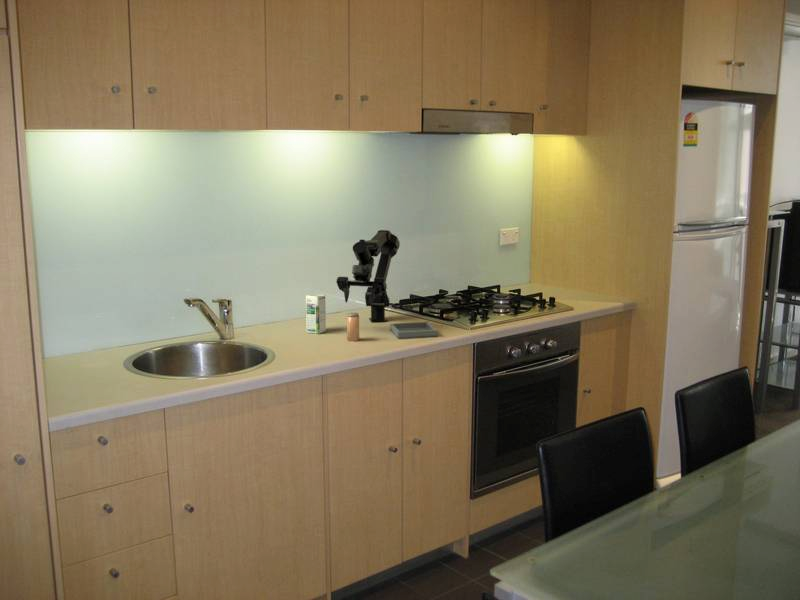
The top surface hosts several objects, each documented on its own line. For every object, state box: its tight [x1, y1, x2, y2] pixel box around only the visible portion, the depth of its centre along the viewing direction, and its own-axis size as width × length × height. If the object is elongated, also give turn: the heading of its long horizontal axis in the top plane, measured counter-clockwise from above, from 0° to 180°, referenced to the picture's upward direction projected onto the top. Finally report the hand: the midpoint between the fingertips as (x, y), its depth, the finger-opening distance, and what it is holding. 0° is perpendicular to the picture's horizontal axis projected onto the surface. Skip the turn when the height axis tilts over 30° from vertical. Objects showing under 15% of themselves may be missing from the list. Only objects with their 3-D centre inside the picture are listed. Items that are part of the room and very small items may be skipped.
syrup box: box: [305, 294, 327, 335], centre depth 306 cm, size 6×6×14 cm
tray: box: [389, 321, 438, 340], centre depth 304 cm, size 15×15×2 cm
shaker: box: [346, 312, 360, 342], centre depth 294 cm, size 4×4×10 cm
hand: (357, 302), depth 299 cm, fingers open, 9 cm apart
